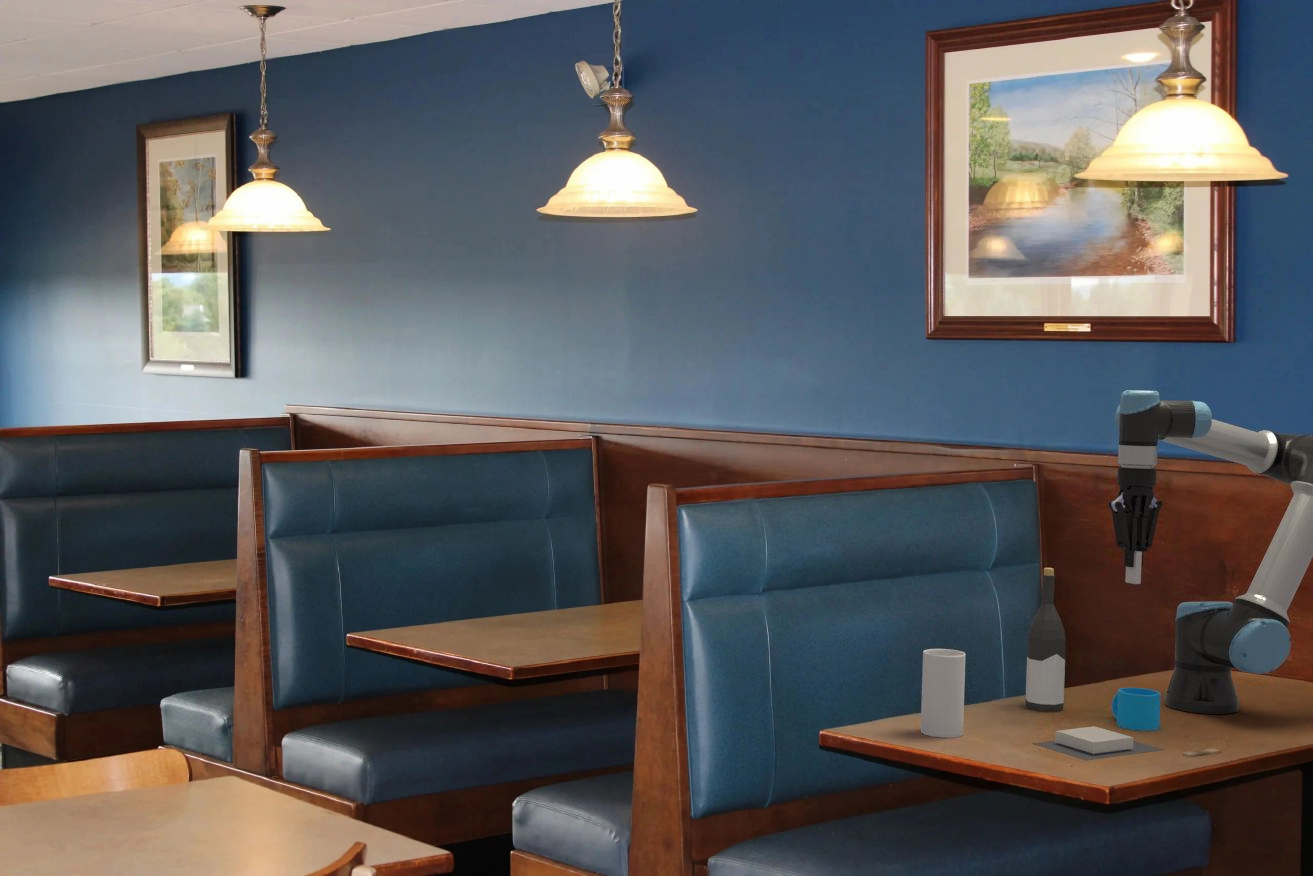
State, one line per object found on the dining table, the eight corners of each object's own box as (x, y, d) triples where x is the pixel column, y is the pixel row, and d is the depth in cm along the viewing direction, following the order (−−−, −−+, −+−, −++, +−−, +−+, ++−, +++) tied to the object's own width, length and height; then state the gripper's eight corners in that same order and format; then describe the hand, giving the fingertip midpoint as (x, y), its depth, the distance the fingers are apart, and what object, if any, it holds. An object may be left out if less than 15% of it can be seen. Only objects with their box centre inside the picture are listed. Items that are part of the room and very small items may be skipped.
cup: (965, 730, 311) (968, 650, 310) (959, 739, 303) (962, 657, 302) (924, 726, 313) (926, 647, 313) (917, 735, 306) (919, 654, 305)
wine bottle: (1050, 703, 339) (1054, 565, 338) (1071, 711, 332) (1076, 570, 331) (1017, 704, 337) (1022, 566, 336) (1038, 712, 329) (1042, 571, 328)
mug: (1168, 735, 311) (1169, 694, 311) (1134, 738, 308) (1136, 696, 308) (1128, 722, 322) (1130, 683, 322) (1096, 724, 319) (1097, 685, 319)
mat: (1109, 740, 306) (1109, 733, 306) (1164, 756, 293) (1164, 749, 293) (1031, 749, 296) (1032, 743, 296) (1085, 766, 284) (1085, 760, 284)
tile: (1094, 726, 301) (1055, 731, 296) (1133, 737, 292) (1093, 742, 287) (1094, 739, 301) (1054, 743, 296) (1133, 750, 292) (1093, 755, 287)
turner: (1204, 754, 295) (1204, 746, 295) (1229, 761, 290) (1229, 753, 290) (1141, 763, 288) (1142, 755, 288) (1166, 771, 282) (1167, 762, 282)
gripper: (1146, 465, 322) (1142, 579, 323) (1099, 465, 315) (1095, 582, 316) (1174, 467, 315) (1170, 584, 316) (1127, 468, 309) (1123, 586, 310)
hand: (1133, 583), depth 316 cm, fingers closed
